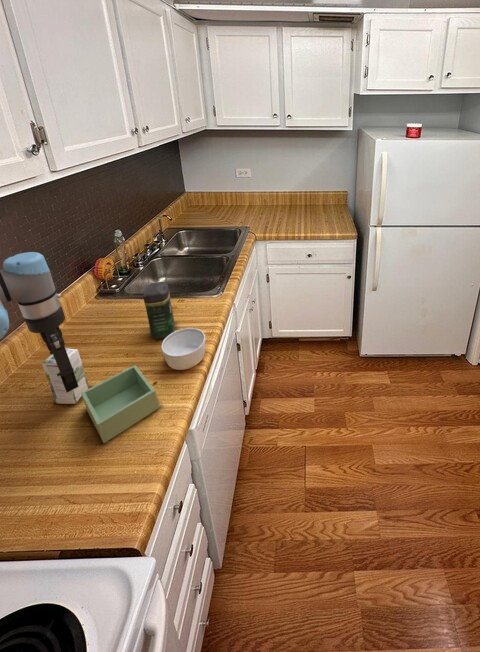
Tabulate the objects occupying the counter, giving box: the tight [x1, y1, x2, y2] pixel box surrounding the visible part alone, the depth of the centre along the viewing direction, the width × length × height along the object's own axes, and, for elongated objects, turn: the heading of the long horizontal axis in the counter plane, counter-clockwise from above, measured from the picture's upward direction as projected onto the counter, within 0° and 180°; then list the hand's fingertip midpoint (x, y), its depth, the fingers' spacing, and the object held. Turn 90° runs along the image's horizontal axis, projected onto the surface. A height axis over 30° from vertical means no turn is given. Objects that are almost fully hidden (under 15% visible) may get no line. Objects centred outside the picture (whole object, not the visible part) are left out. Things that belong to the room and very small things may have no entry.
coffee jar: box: [142, 281, 176, 340], centre depth 116 cm, size 10×8×19 cm
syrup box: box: [41, 347, 90, 405], centre depth 91 cm, size 6×6×14 cm
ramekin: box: [160, 327, 207, 371], centre depth 106 cm, size 13×13×7 cm
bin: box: [81, 364, 160, 444], centre depth 89 cm, size 14×14×6 cm
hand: (68, 380), depth 92 cm, fingers closed on syrup box, 8 cm apart
